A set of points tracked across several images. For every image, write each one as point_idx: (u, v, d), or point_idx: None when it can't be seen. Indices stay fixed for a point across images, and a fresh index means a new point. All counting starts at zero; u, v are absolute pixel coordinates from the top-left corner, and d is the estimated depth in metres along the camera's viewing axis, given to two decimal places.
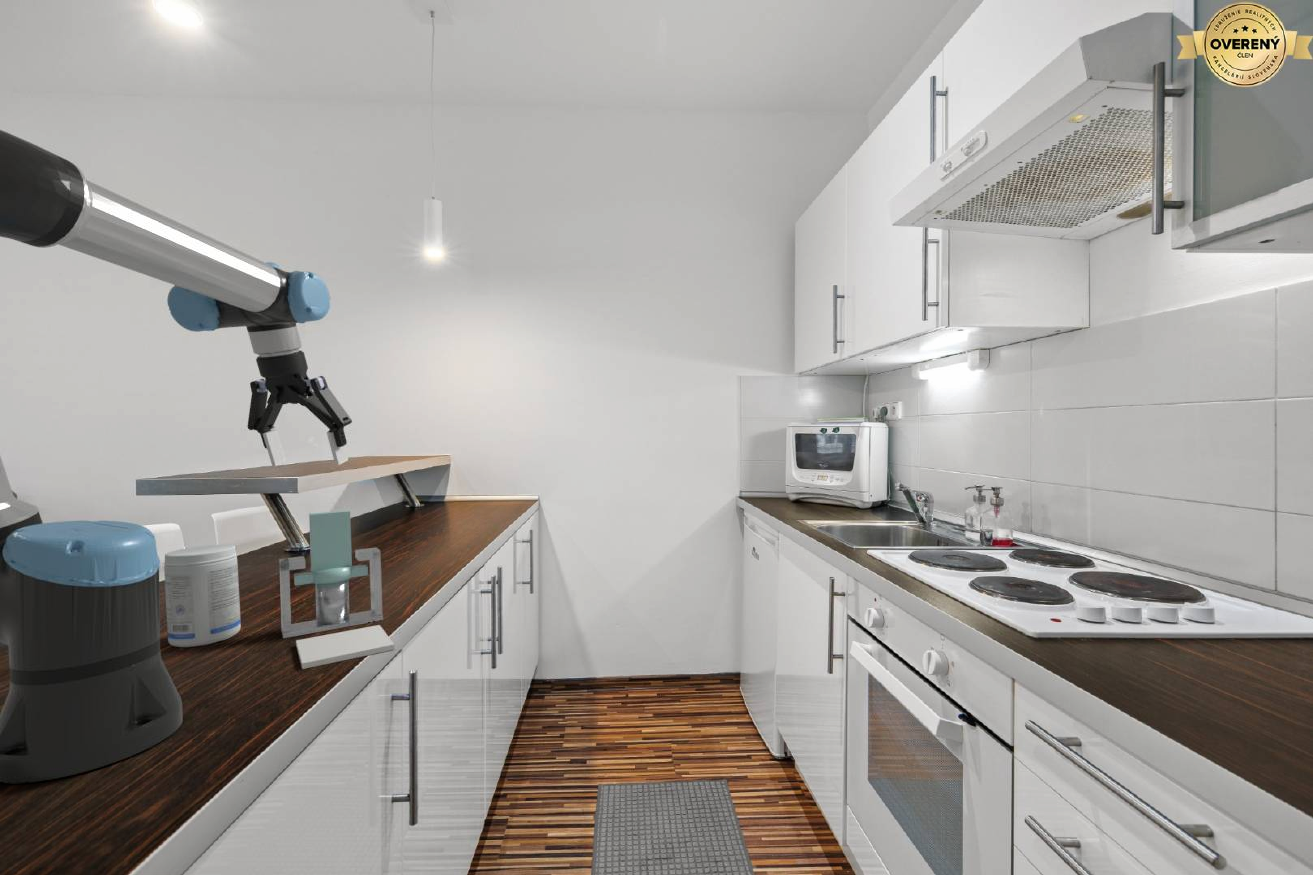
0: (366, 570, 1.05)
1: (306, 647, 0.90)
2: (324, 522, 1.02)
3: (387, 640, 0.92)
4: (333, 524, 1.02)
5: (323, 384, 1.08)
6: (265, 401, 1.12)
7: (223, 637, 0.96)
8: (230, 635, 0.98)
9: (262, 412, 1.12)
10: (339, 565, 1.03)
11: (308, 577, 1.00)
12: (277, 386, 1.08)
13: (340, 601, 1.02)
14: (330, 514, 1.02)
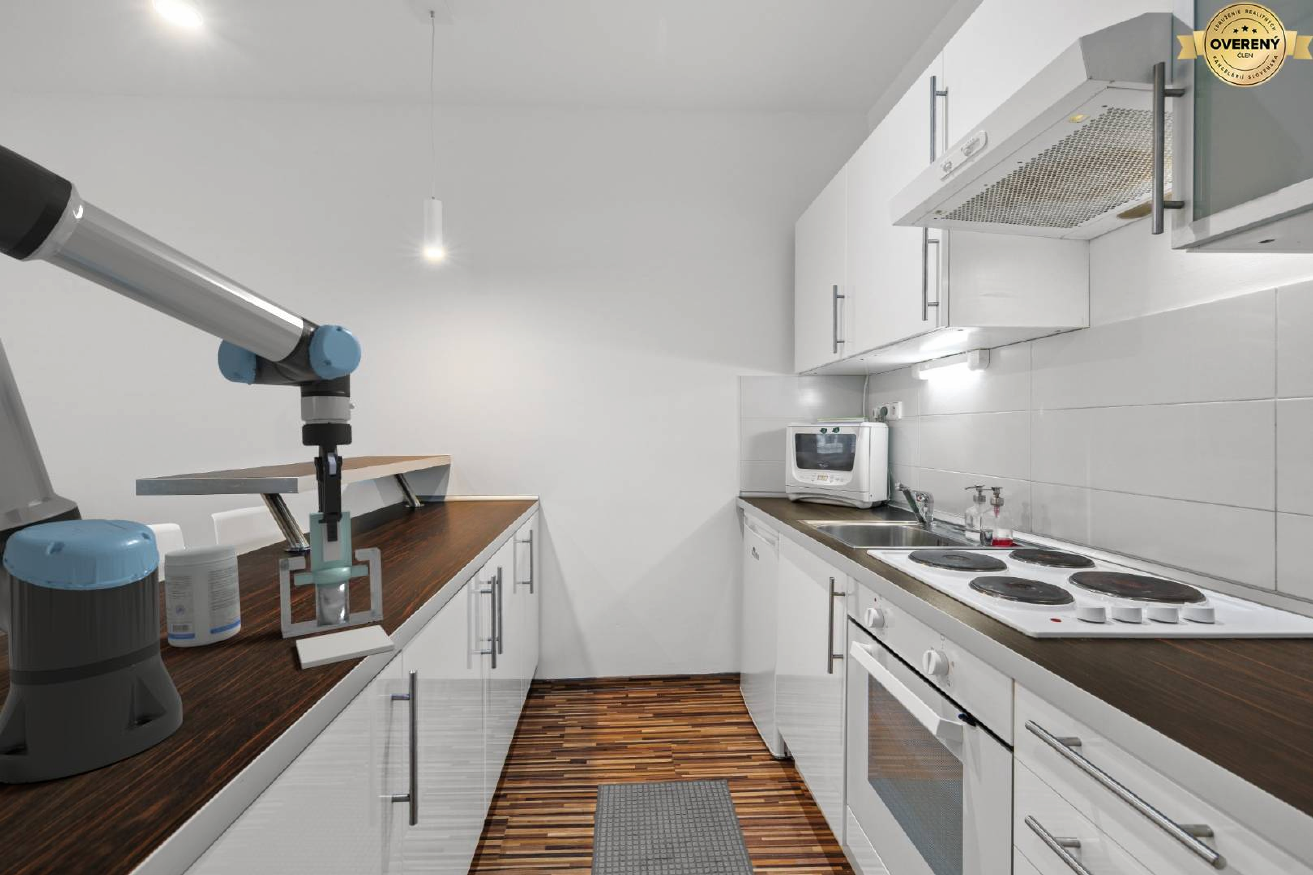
0: (366, 570, 1.05)
1: (306, 647, 0.90)
2: None
3: (387, 640, 0.92)
4: None
5: (335, 471, 0.99)
6: None
7: (223, 637, 0.96)
8: (230, 635, 0.98)
9: None
10: (339, 565, 1.03)
11: (308, 577, 1.00)
12: None
13: (340, 601, 1.02)
14: None
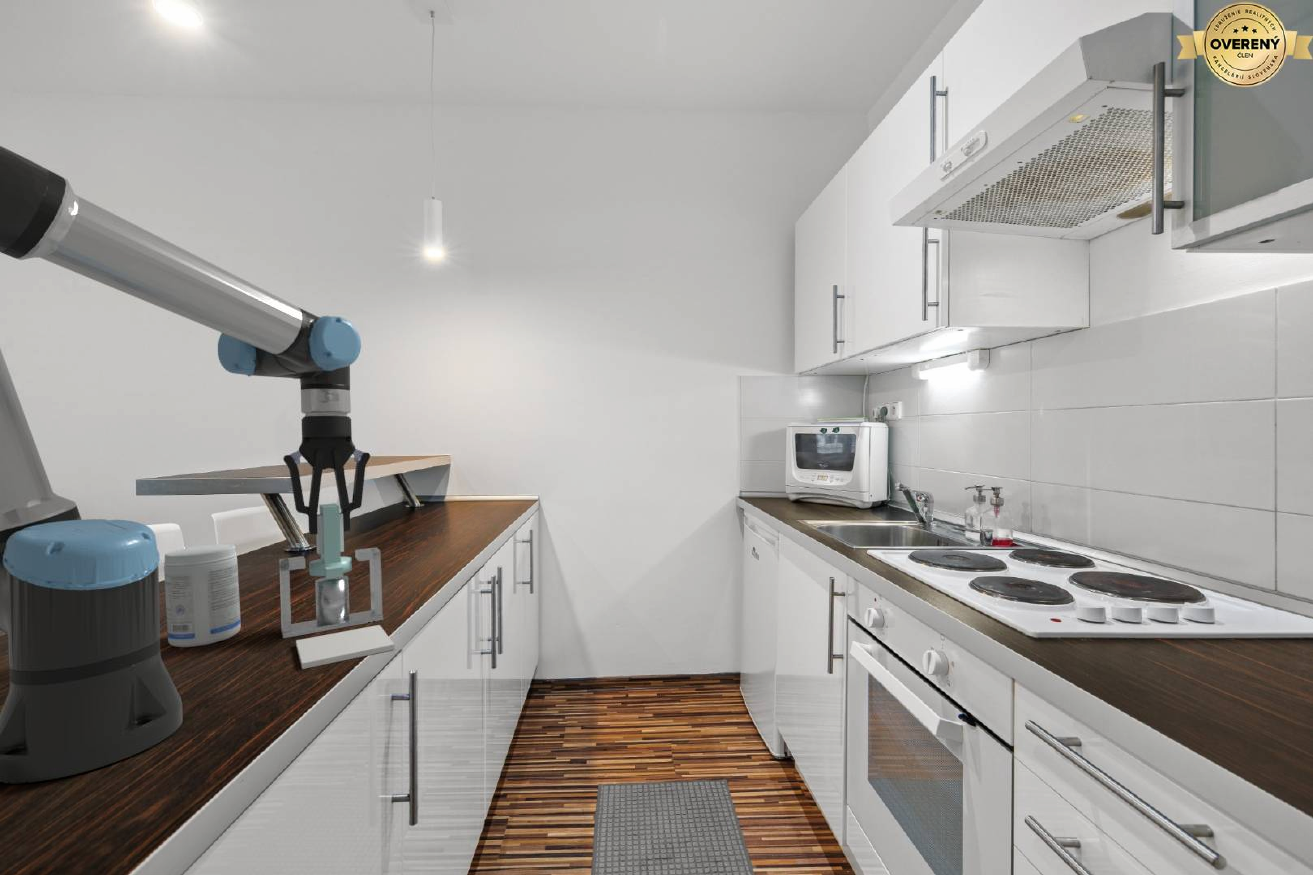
0: (326, 573, 0.98)
1: (306, 647, 0.90)
2: None
3: (387, 640, 0.92)
4: None
5: None
6: (356, 475, 1.05)
7: (223, 637, 0.96)
8: (230, 635, 0.98)
9: (355, 487, 1.05)
10: (323, 560, 1.02)
11: None
12: None
13: (340, 601, 1.02)
14: (321, 507, 1.02)
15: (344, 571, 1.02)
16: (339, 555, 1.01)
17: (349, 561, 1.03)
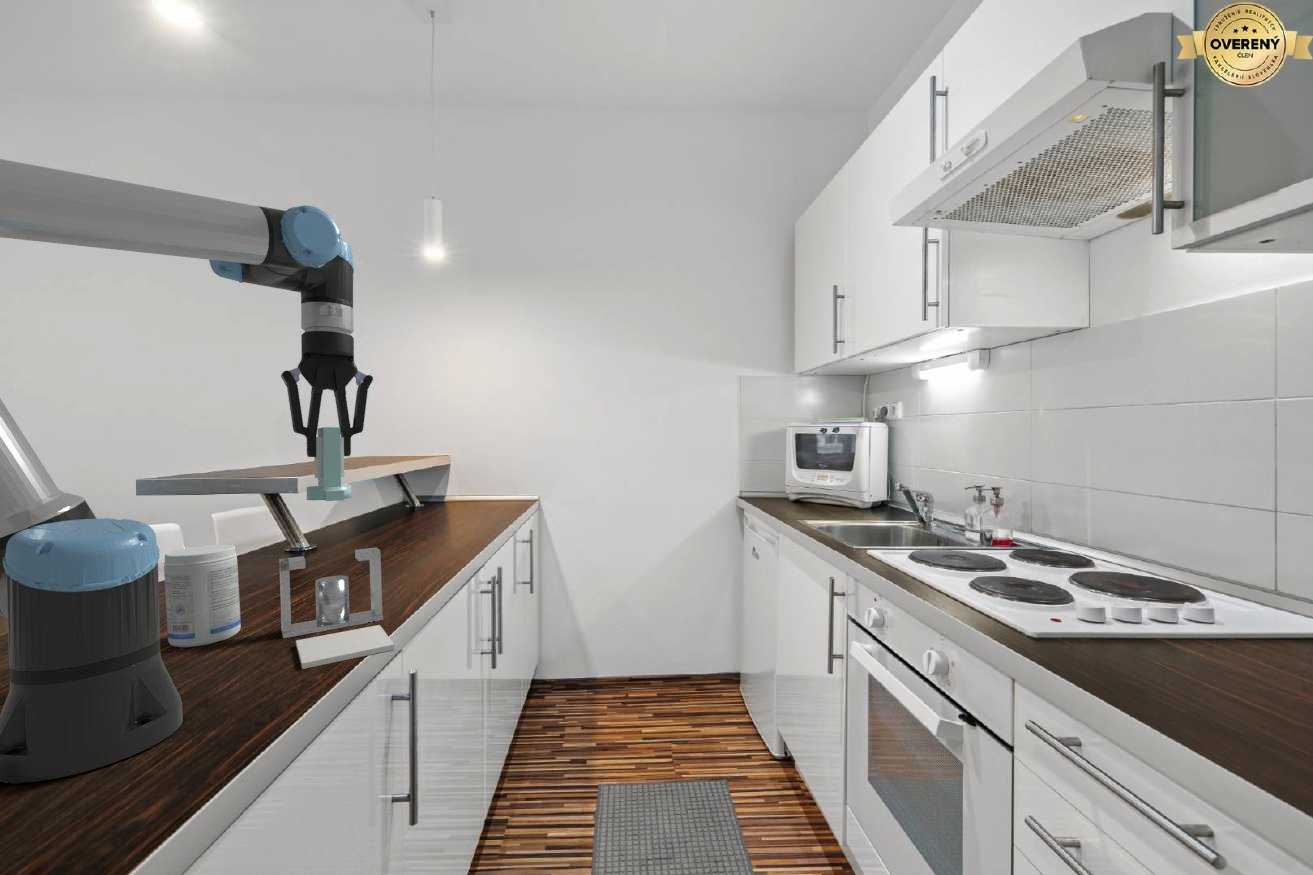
0: (326, 495, 0.93)
1: (306, 647, 0.90)
2: None
3: (387, 640, 0.92)
4: None
5: (286, 381, 0.94)
6: (358, 398, 1.00)
7: (223, 637, 0.96)
8: (230, 635, 0.98)
9: (356, 411, 1.00)
10: (322, 484, 0.96)
11: None
12: None
13: (340, 601, 1.02)
14: (320, 429, 0.97)
15: (344, 497, 0.96)
16: (339, 479, 0.96)
17: (349, 487, 0.98)
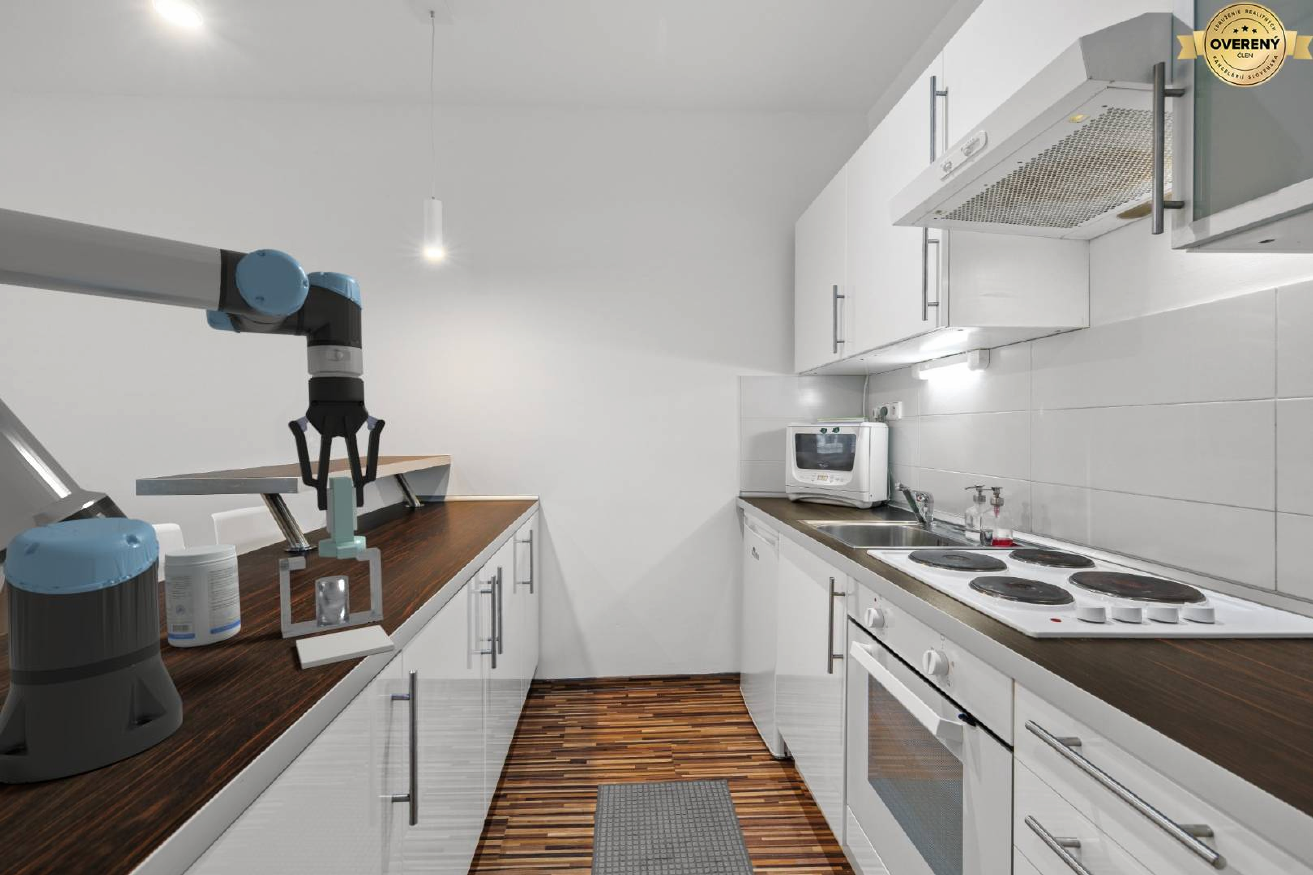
0: (338, 553, 0.87)
1: (306, 647, 0.90)
2: None
3: (387, 640, 0.92)
4: None
5: (293, 431, 0.88)
6: (370, 445, 0.93)
7: (223, 637, 0.96)
8: (230, 635, 0.98)
9: (368, 458, 0.94)
10: (334, 539, 0.90)
11: None
12: None
13: (340, 601, 1.02)
14: (331, 479, 0.91)
15: (358, 551, 0.91)
16: (352, 533, 0.90)
17: (363, 540, 0.92)
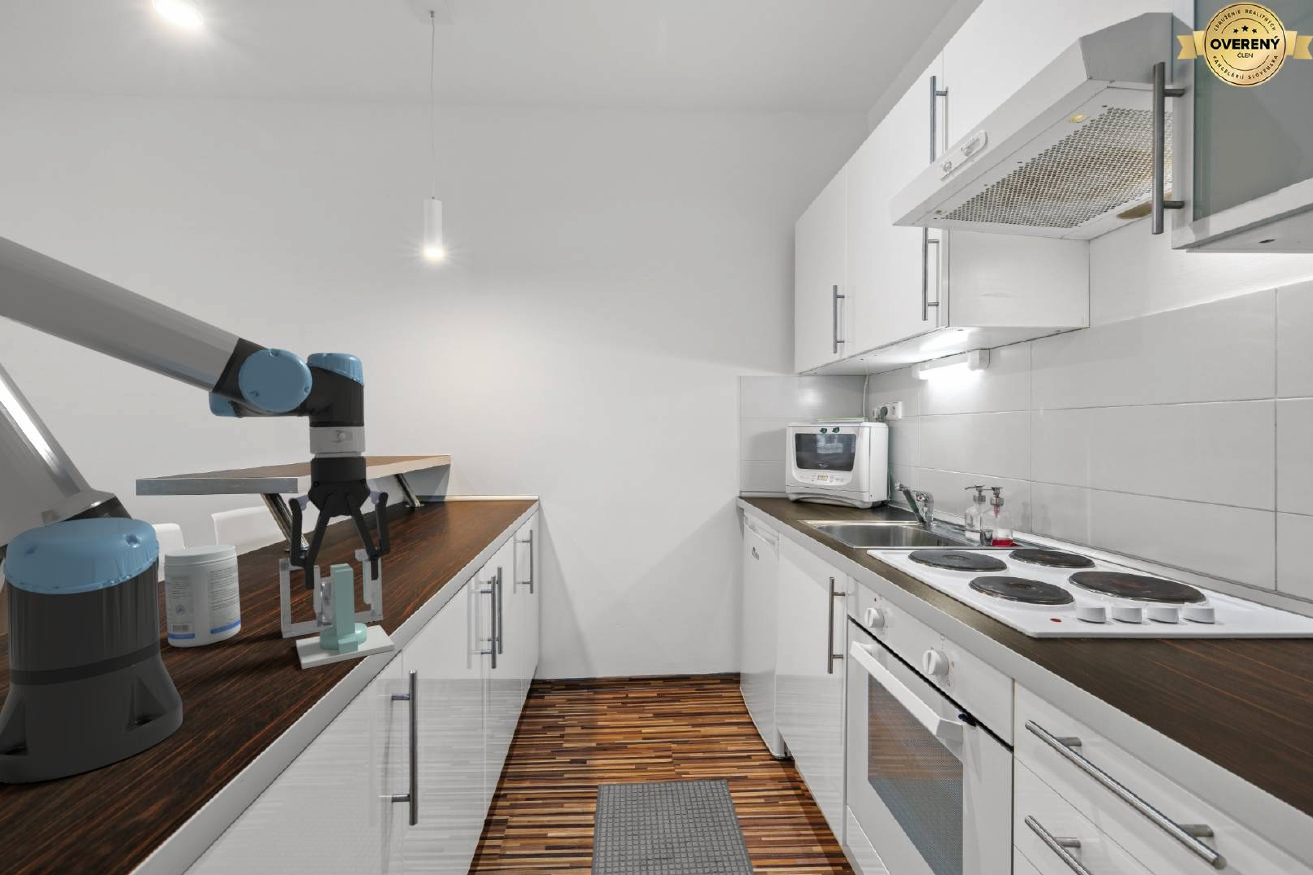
0: (339, 648, 0.87)
1: (306, 647, 0.90)
2: (332, 577, 0.92)
3: (387, 640, 0.92)
4: (333, 582, 0.91)
5: None
6: (378, 519, 0.94)
7: (223, 637, 0.96)
8: (230, 635, 0.98)
9: (379, 532, 0.94)
10: (335, 630, 0.90)
11: None
12: None
13: None
14: (332, 570, 0.91)
15: (359, 642, 0.91)
16: (353, 625, 0.90)
17: (364, 630, 0.92)
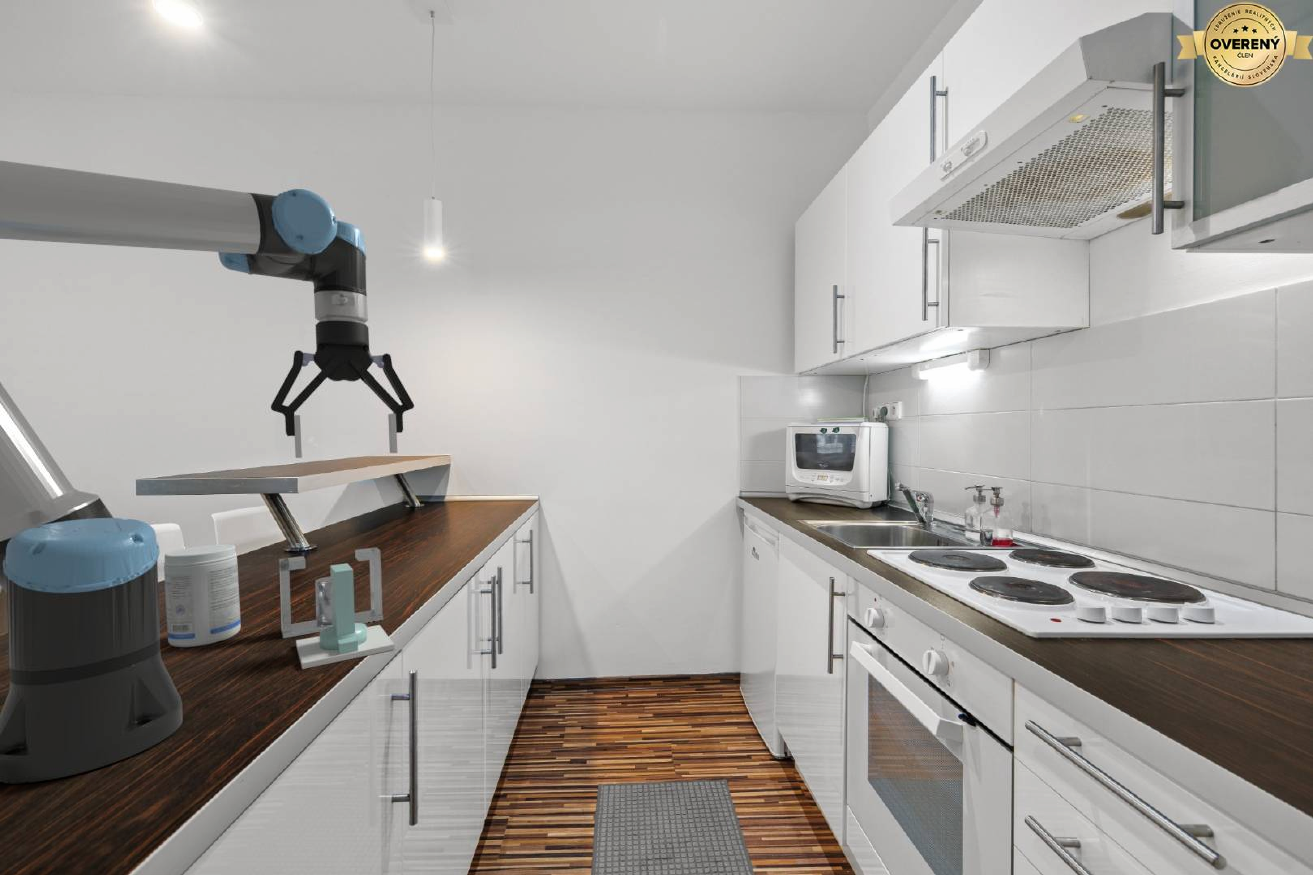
0: (339, 648, 0.87)
1: (306, 647, 0.90)
2: (332, 577, 0.92)
3: (387, 640, 0.92)
4: (333, 582, 0.91)
5: (294, 360, 0.92)
6: (390, 380, 0.99)
7: (223, 637, 0.96)
8: (230, 635, 0.98)
9: (397, 391, 1.00)
10: (335, 630, 0.90)
11: None
12: None
13: None
14: (332, 570, 0.91)
15: (359, 642, 0.91)
16: (353, 625, 0.90)
17: (364, 630, 0.92)
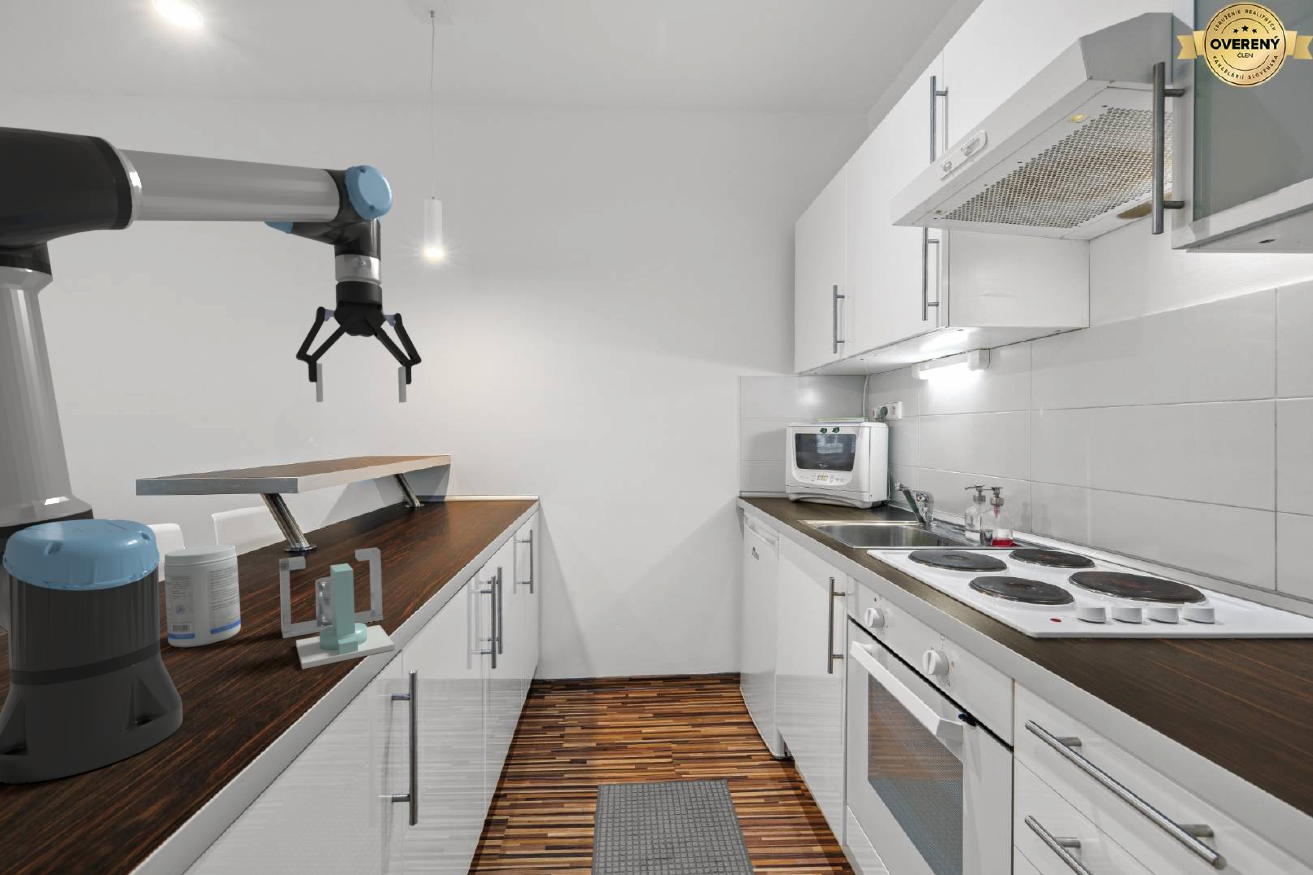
0: (339, 648, 0.87)
1: (306, 647, 0.90)
2: (332, 577, 0.92)
3: (387, 640, 0.92)
4: (333, 582, 0.91)
5: (317, 315, 1.04)
6: (401, 336, 1.11)
7: (223, 637, 0.96)
8: (230, 635, 0.98)
9: (406, 347, 1.12)
10: (335, 630, 0.90)
11: None
12: None
13: None
14: (332, 570, 0.91)
15: (359, 642, 0.91)
16: (353, 625, 0.90)
17: (364, 630, 0.92)
